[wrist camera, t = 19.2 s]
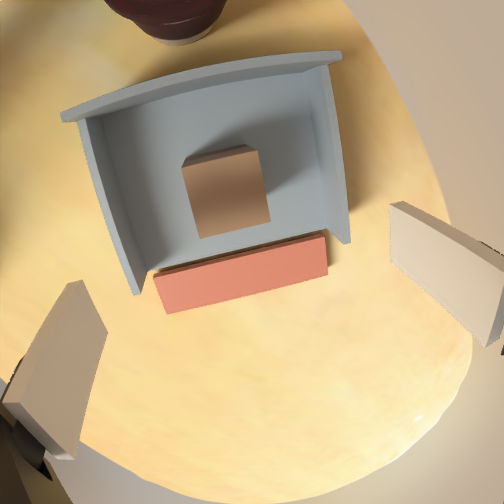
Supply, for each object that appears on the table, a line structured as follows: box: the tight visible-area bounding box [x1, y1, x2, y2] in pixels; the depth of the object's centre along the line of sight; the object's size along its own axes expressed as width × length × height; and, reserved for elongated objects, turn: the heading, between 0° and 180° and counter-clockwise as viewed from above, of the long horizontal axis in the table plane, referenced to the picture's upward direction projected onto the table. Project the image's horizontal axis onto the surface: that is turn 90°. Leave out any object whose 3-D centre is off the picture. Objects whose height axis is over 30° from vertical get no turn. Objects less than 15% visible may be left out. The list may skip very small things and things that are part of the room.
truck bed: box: [60, 50, 351, 295], centre depth 27 cm, size 22×18×9 cm
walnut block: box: [181, 144, 271, 239], centre depth 28 cm, size 6×6×7 cm
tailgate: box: [153, 234, 328, 314], centre depth 36 cm, size 20×1×5 cm
